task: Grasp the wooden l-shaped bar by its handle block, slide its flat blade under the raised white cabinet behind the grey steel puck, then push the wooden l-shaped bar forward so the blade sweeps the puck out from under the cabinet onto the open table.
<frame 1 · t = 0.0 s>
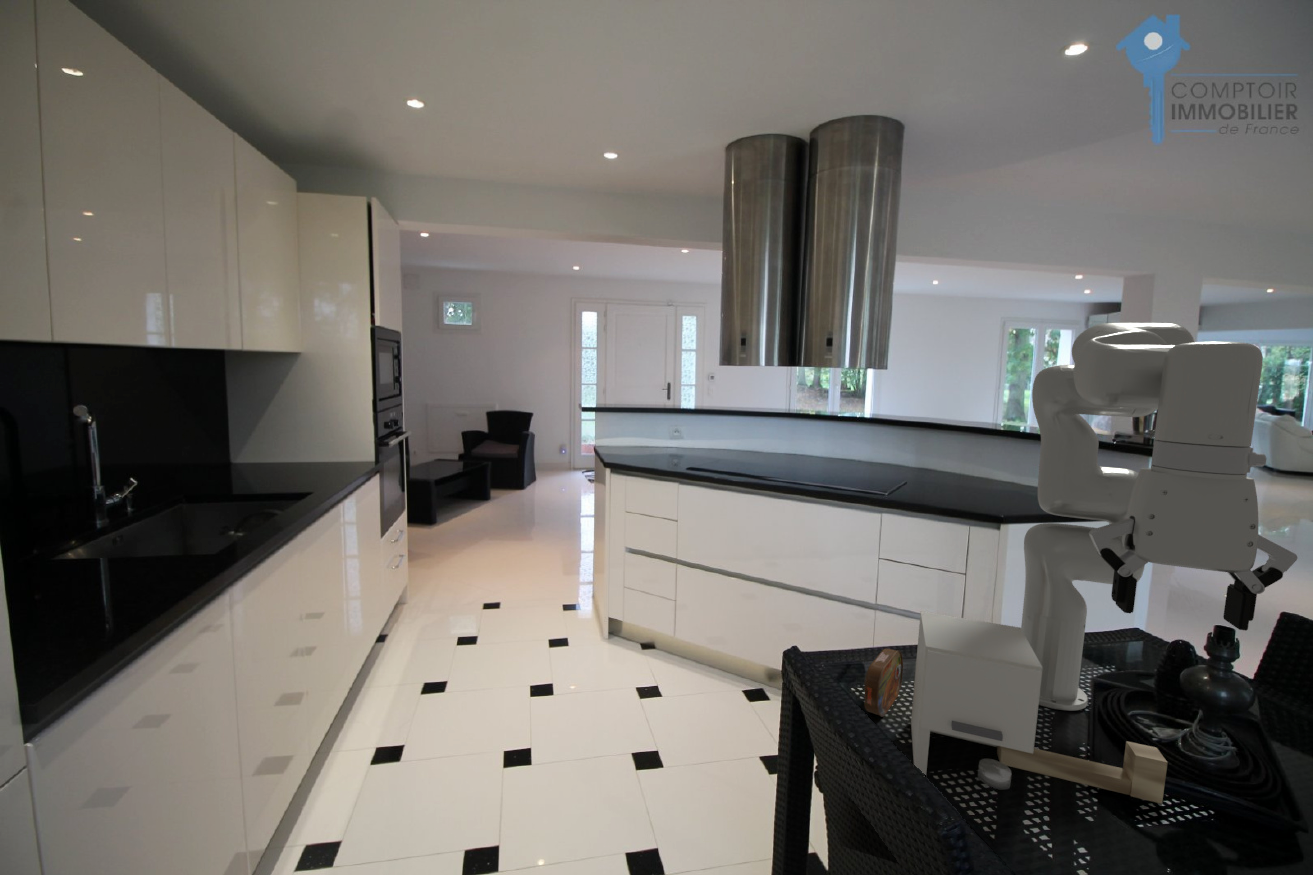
hand: (1177, 616, 64), 31 cm above the table, tool pointing down, fingers open, 9 cm apart
cabinet: (963, 758, 88), on the table
tin: (881, 704, 103), on the table
wooden l-shaped bar: (1141, 791, 82), on the table
puck: (993, 780, 84), on the table
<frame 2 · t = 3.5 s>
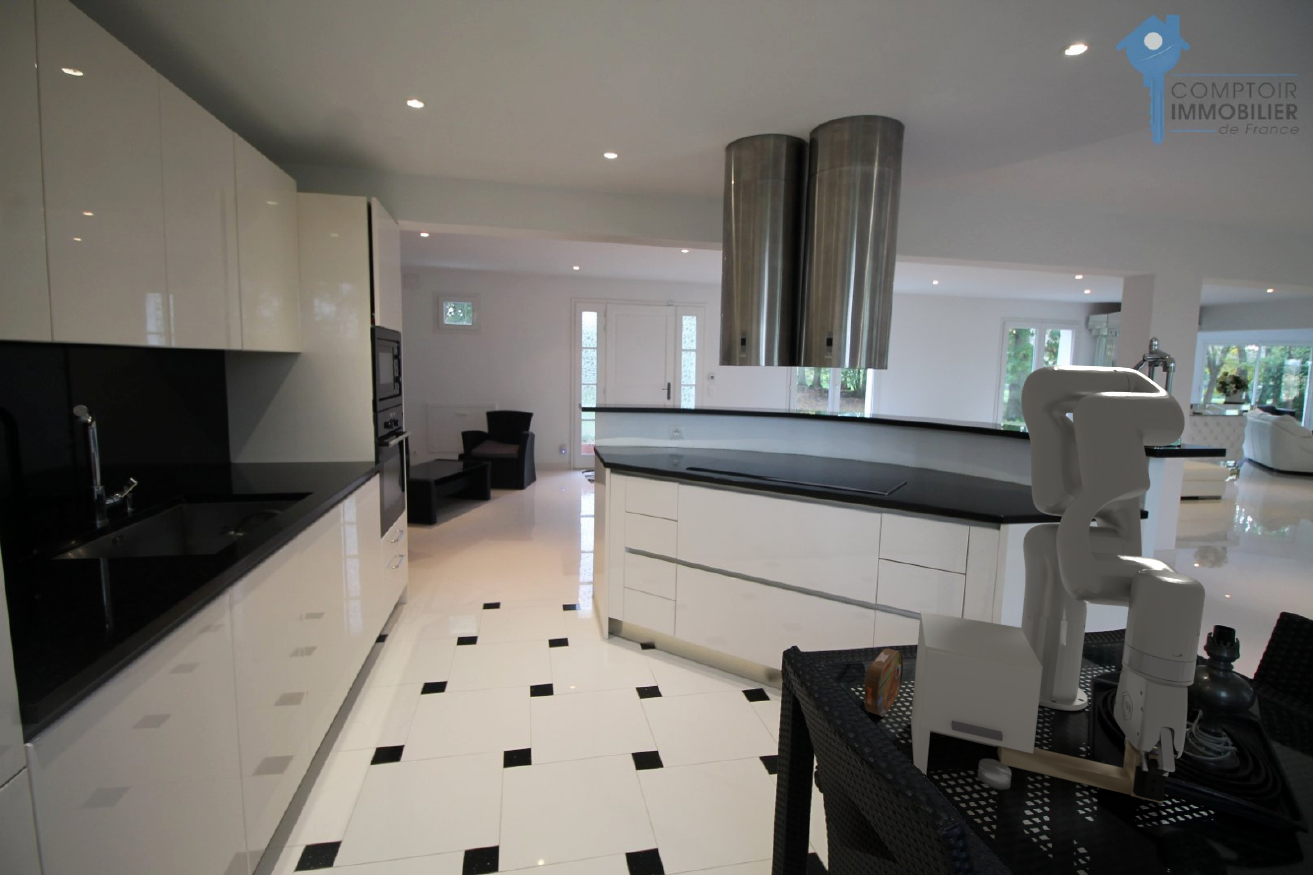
hand: (1141, 786, 82), 1 cm above the table, tool pointing down, fingers closed on wooden l-shaped bar, 3 cm apart
wooden l-shaped bar: (1141, 791, 82), on the table, touching gripper
everything else where it was.
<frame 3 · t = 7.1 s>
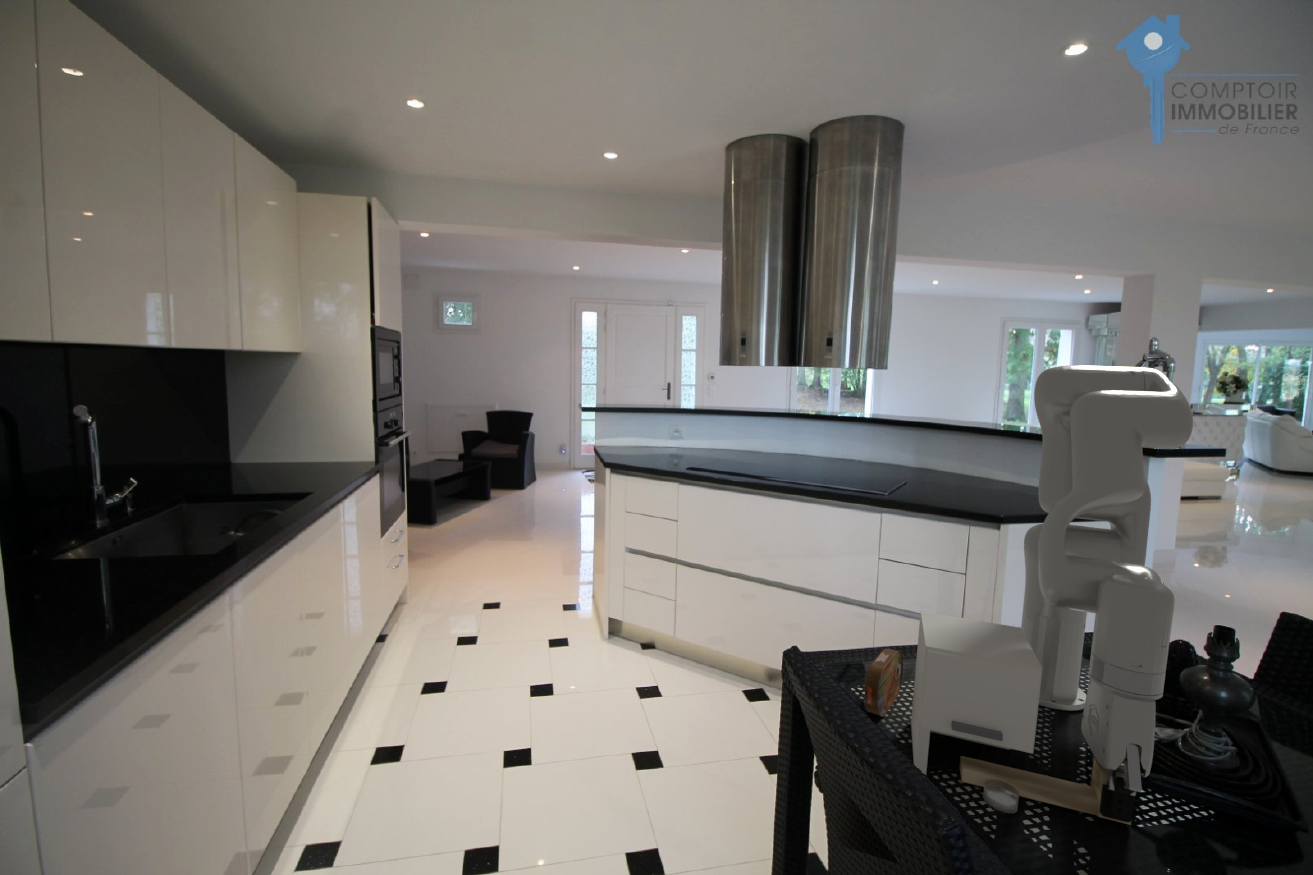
hand: (1109, 805, 77), 1 cm above the table, tool pointing down, fingers closed on wooden l-shaped bar, 3 cm apart
wooden l-shaped bar: (1109, 811, 77), on the table, touching gripper, puck
puck: (1000, 803, 79), on the table, touching wooden l-shaped bar
everything else where it was.
when the fingers open (1 cm above the table, at t = 9.1 s): wooden l-shaped bar stays where it is, on the table.
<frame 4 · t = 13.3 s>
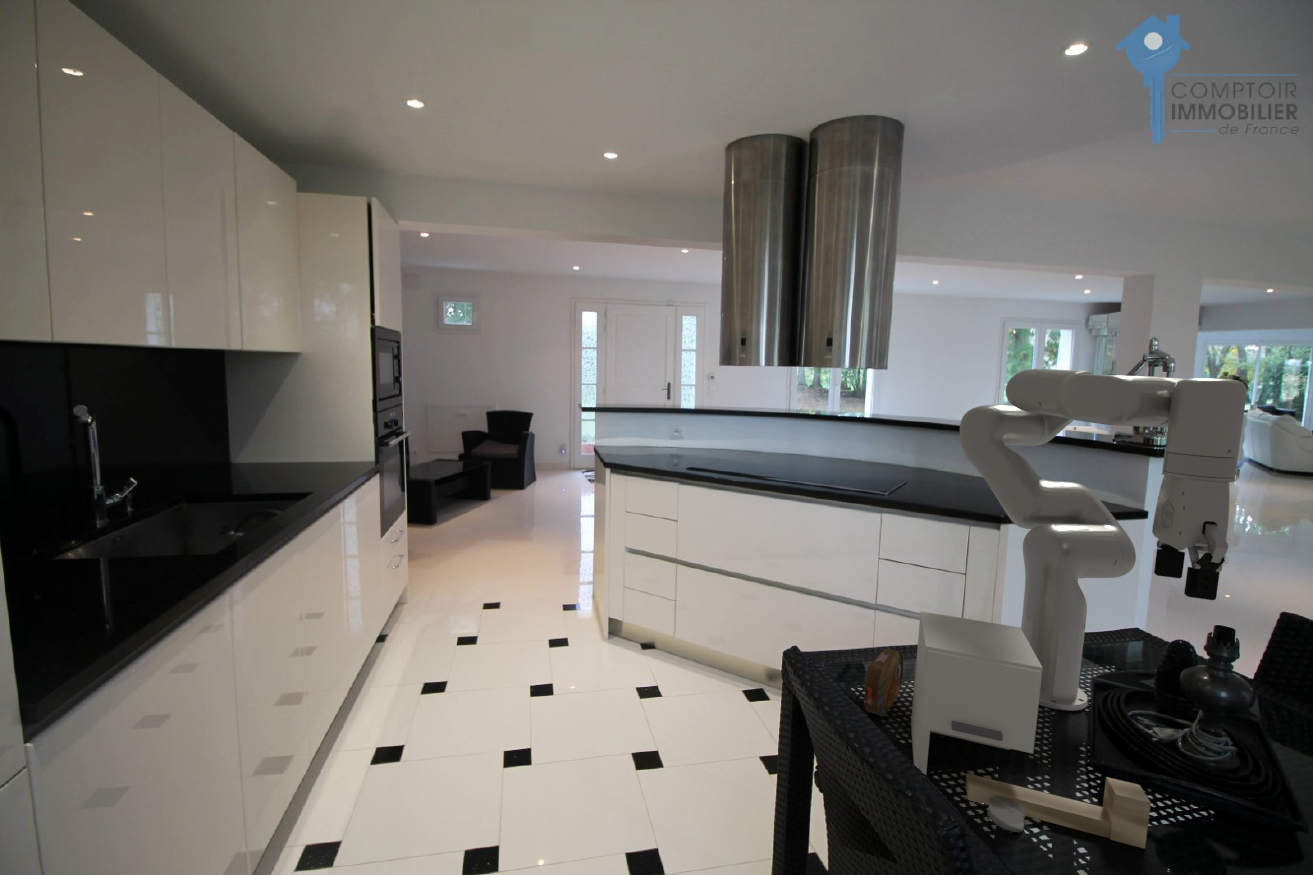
hand: (1182, 586, 84), 28 cm above the table, tool pointing down, fingers open, 9 cm apart
wooden l-shaped bar: (1122, 834, 74), on the table
puck: (1005, 821, 76), on the table
everything else where it was.
at the end: puck inside the target area (1.1 cm from its centre), on the table; puck moved 8.6 cm from its start; the gripper is holding nothing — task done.
